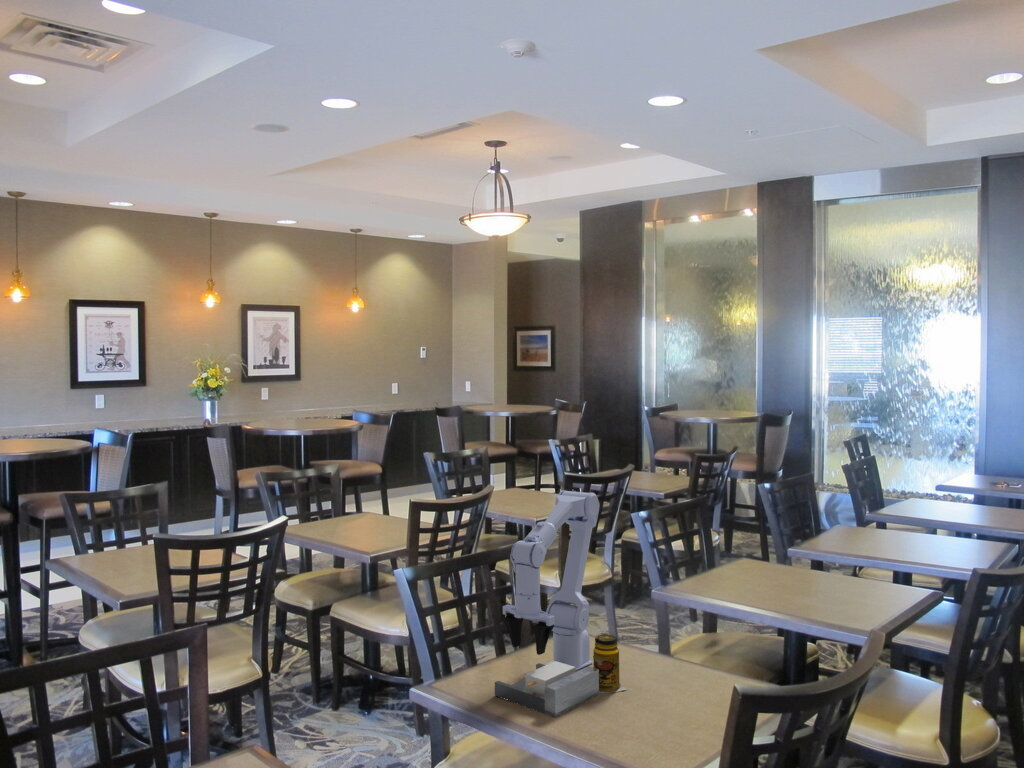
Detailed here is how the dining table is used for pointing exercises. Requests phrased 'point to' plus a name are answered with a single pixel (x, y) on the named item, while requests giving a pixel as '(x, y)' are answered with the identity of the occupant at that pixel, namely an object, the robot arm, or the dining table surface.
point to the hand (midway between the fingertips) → (528, 649)
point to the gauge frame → (554, 692)
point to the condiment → (607, 663)
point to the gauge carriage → (547, 676)
